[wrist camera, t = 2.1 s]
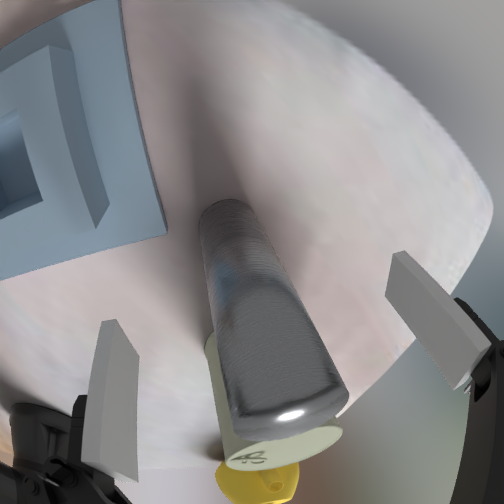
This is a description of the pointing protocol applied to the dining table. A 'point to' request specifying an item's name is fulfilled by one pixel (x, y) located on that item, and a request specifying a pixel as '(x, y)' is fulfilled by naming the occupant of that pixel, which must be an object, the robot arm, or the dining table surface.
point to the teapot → (258, 484)
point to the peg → (263, 332)
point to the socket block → (72, 144)
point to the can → (262, 452)
